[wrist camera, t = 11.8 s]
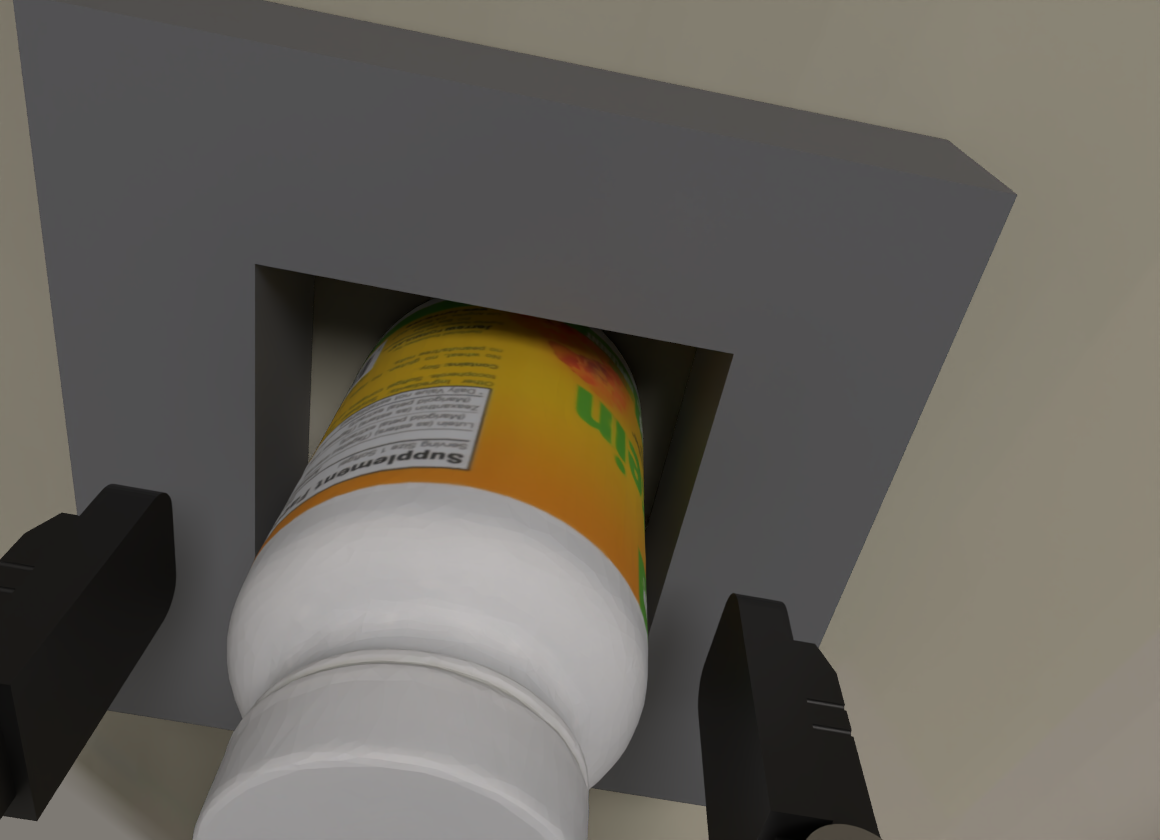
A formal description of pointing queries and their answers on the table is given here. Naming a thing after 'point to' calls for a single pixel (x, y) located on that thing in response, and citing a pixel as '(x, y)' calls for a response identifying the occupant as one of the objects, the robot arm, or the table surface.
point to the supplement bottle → (447, 597)
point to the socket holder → (482, 293)
